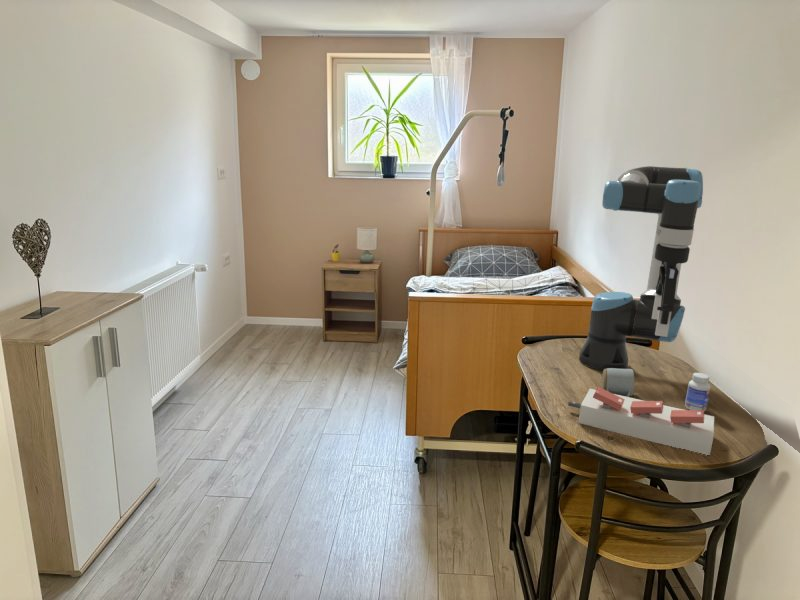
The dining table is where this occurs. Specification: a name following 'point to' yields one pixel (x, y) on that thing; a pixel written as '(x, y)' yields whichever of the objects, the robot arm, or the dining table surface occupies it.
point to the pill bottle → (698, 392)
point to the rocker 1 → (608, 398)
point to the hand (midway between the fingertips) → (659, 327)
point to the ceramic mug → (618, 381)
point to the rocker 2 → (647, 407)
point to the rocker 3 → (687, 416)
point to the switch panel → (647, 424)
